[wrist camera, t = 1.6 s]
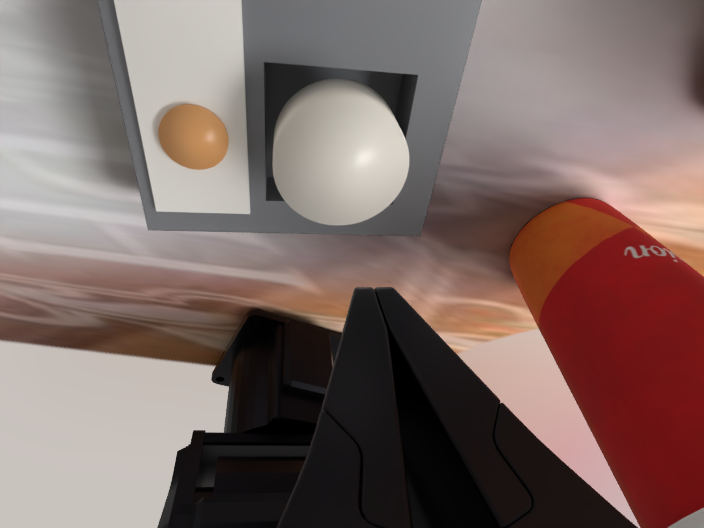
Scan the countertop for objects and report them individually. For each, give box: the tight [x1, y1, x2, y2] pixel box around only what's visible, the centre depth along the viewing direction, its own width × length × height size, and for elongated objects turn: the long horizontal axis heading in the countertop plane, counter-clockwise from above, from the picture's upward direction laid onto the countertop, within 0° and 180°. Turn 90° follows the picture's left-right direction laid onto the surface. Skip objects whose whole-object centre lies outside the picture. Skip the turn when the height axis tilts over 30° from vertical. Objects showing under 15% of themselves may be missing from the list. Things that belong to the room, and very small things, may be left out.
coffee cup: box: [509, 198, 704, 528], centre depth 18 cm, size 8×8×15 cm
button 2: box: [272, 78, 409, 226], centre depth 15 cm, size 4×4×2 cm
